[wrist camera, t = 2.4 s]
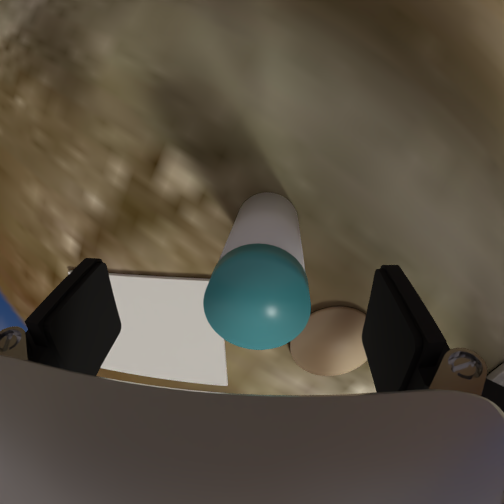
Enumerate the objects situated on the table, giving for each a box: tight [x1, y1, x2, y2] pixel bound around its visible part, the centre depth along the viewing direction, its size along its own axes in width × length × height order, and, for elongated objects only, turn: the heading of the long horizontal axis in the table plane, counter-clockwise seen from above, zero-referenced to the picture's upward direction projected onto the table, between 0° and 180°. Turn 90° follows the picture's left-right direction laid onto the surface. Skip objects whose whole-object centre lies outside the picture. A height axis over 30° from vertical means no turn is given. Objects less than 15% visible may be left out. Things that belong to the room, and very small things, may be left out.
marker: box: [203, 192, 311, 350], centre depth 15 cm, size 4×4×9 cm
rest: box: [290, 306, 367, 376], centre depth 22 cm, size 6×6×1 cm
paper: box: [68, 270, 228, 386], centre depth 23 cm, size 12×10×1 cm
